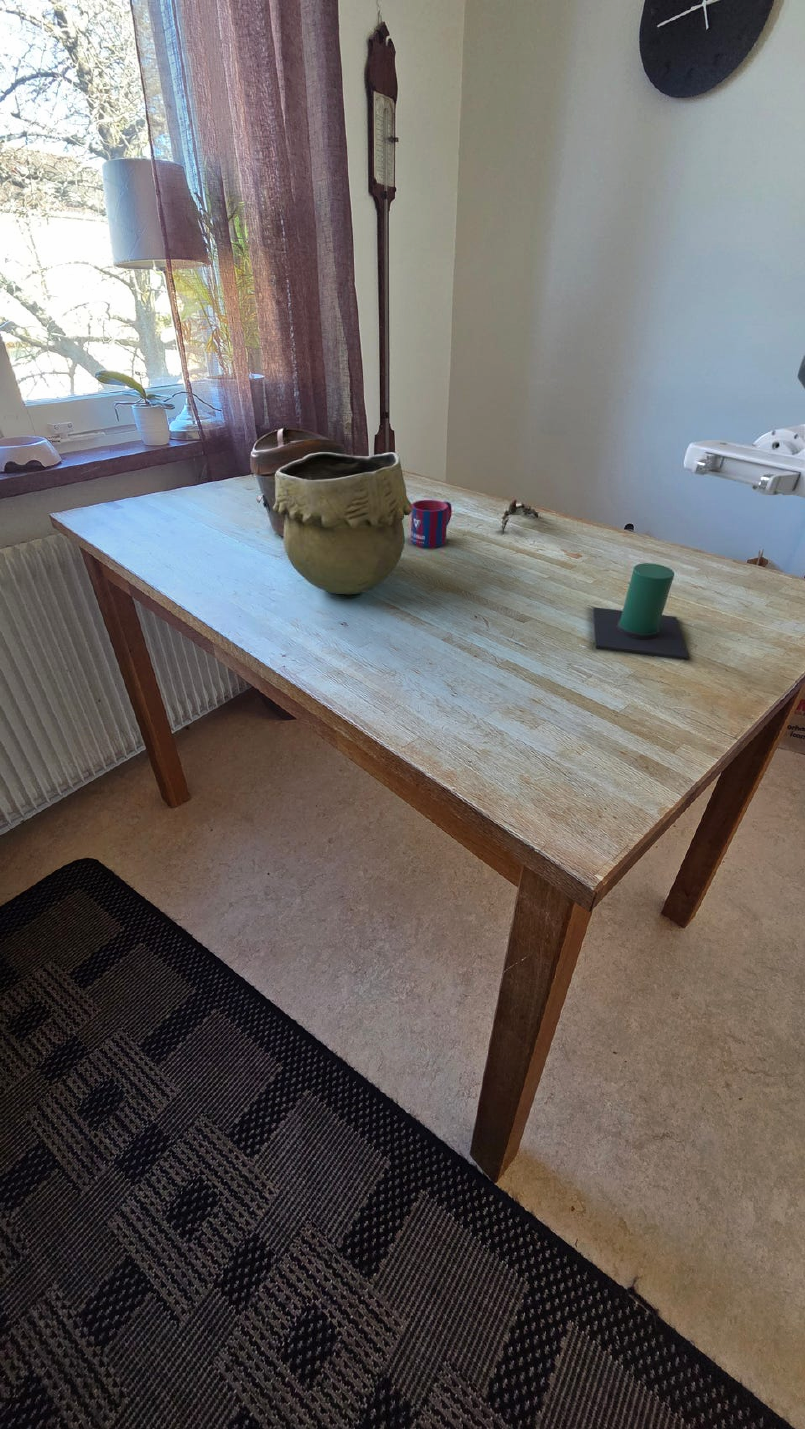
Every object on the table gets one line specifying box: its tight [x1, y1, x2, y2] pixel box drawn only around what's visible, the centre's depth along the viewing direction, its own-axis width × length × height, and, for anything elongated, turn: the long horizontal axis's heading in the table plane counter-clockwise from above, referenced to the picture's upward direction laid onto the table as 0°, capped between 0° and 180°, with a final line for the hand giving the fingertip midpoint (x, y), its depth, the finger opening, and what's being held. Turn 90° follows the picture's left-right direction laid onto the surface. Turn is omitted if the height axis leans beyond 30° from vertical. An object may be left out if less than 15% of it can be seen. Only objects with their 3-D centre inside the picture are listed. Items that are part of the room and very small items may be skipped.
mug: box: [410, 499, 453, 549], centre depth 113 cm, size 7×10×7 cm
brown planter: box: [249, 426, 348, 537], centre depth 113 cm, size 18×20×18 cm
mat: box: [592, 607, 689, 661], centre depth 86 cm, size 12×12×1 cm
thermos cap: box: [617, 562, 675, 639], centre depth 83 cm, size 6×6×9 cm
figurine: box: [499, 499, 540, 533], centre depth 121 cm, size 6×4×15 cm
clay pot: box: [273, 452, 412, 595], centre depth 91 cm, size 21×21×20 cm
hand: (730, 475), depth 80 cm, fingers open, 8 cm apart
